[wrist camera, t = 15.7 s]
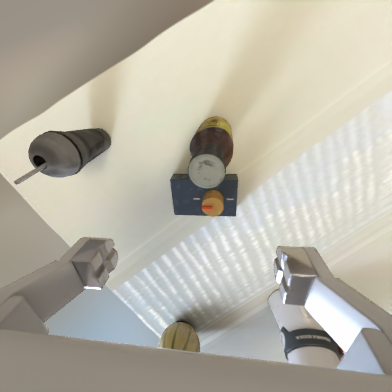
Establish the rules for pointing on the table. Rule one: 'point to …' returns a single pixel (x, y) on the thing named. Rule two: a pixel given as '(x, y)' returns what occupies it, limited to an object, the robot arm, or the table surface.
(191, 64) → the table surface
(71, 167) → the beverage cup
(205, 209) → the tan cylinder
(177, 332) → the cantaloupe
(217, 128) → the sauce bottle
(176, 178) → the grey dial panel
